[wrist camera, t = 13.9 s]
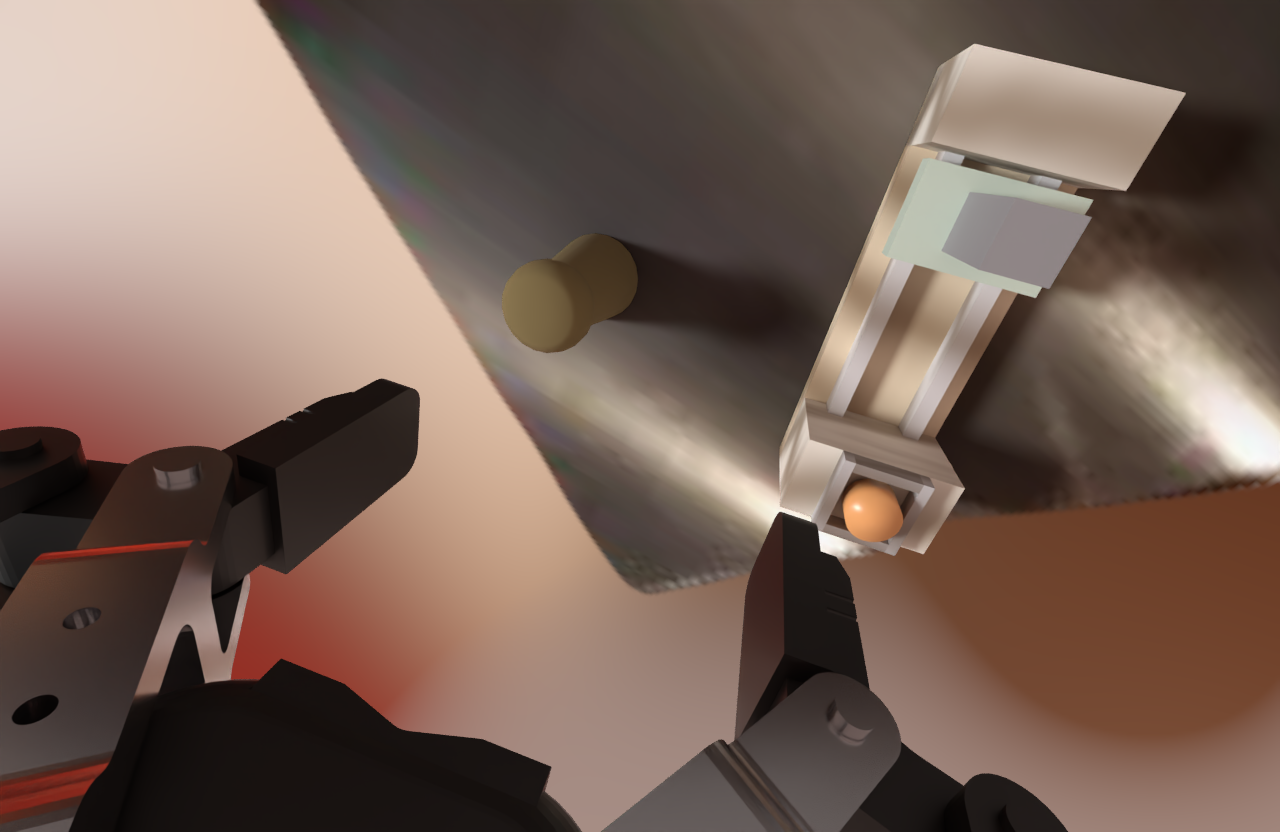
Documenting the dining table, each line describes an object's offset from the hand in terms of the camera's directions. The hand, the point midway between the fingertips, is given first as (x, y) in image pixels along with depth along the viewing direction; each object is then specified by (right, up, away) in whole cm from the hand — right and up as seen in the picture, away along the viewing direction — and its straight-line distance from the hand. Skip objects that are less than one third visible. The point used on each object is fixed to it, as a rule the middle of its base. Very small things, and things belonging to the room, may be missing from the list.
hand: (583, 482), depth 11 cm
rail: (+19, +8, +23) cm, 31 cm away
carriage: (+19, +12, +18) cm, 29 cm away
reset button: (+15, -4, +20) cm, 25 cm away
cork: (-2, +11, +27) cm, 30 cm away
